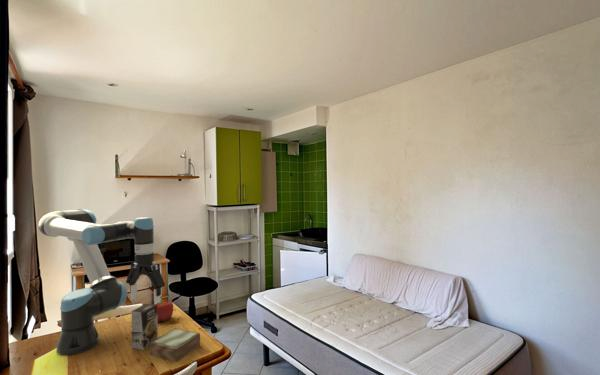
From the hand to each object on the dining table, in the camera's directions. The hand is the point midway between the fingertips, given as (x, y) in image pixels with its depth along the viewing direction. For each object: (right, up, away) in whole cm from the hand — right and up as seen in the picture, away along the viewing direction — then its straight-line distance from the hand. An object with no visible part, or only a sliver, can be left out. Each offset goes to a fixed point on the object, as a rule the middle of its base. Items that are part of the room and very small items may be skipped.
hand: (145, 301), depth 139 cm
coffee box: (0, -19, 0) cm, 19 cm away
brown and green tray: (+15, -19, -5) cm, 25 cm away
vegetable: (-3, -19, +25) cm, 31 cm away
